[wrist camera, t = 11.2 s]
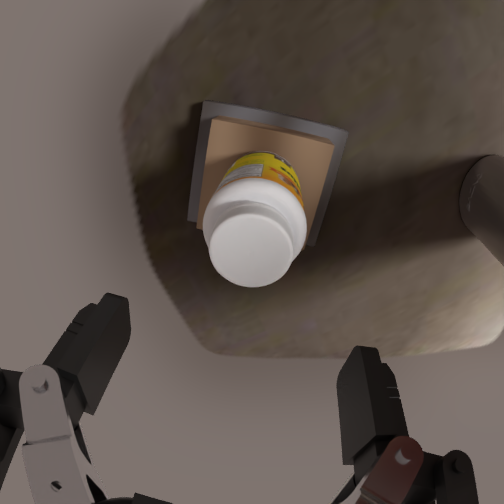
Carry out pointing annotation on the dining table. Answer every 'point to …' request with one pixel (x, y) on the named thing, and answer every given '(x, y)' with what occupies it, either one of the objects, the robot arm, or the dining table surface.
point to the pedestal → (270, 140)
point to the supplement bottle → (255, 220)
